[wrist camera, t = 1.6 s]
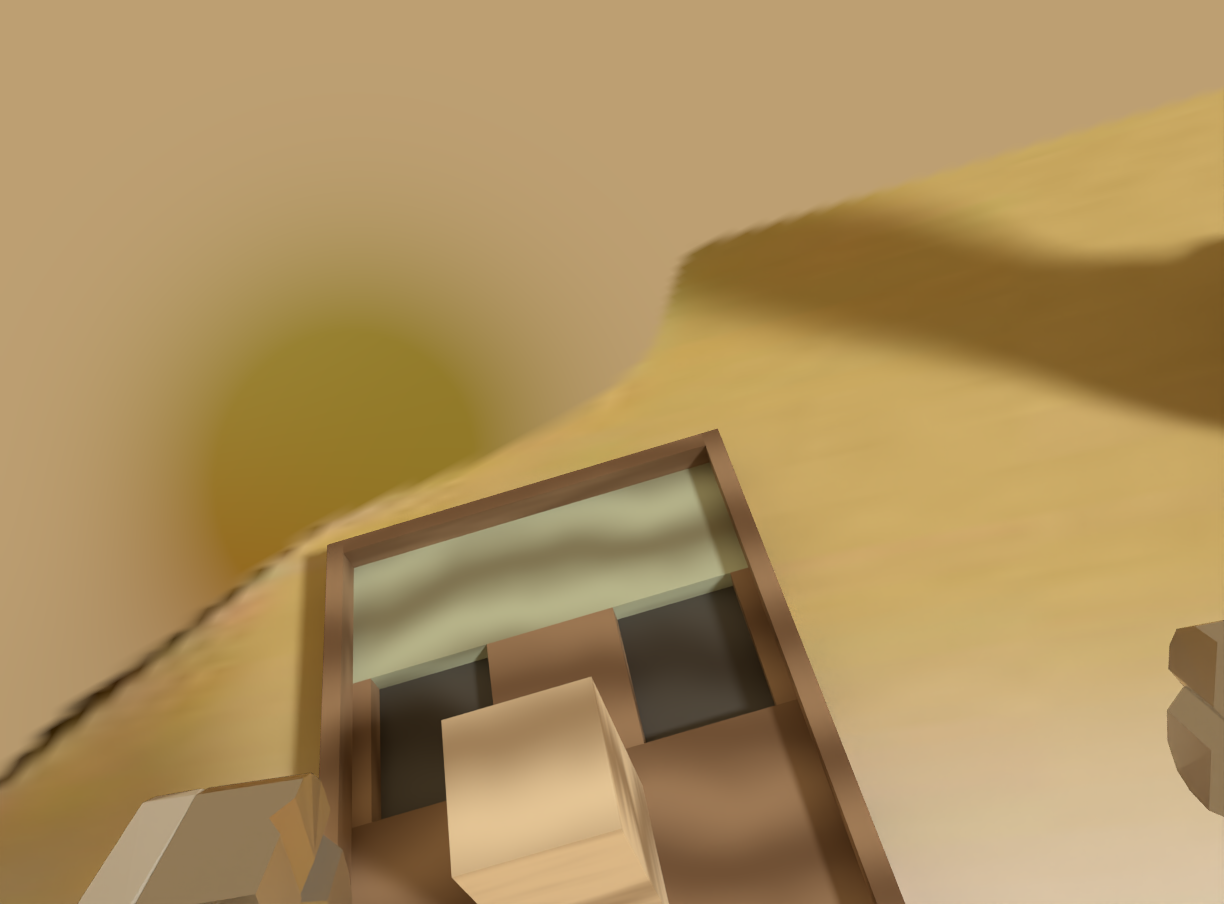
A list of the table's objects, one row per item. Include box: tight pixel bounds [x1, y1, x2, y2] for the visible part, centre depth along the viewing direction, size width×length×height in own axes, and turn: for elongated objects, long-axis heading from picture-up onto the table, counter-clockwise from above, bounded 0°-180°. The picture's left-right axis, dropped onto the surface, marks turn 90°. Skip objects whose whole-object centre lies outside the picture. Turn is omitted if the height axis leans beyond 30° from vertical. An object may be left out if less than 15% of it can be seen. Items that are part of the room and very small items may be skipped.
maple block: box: [441, 677, 669, 904], centre depth 38 cm, size 6×6×10 cm
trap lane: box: [319, 429, 905, 904], centre depth 46 cm, size 29×24×3 cm
